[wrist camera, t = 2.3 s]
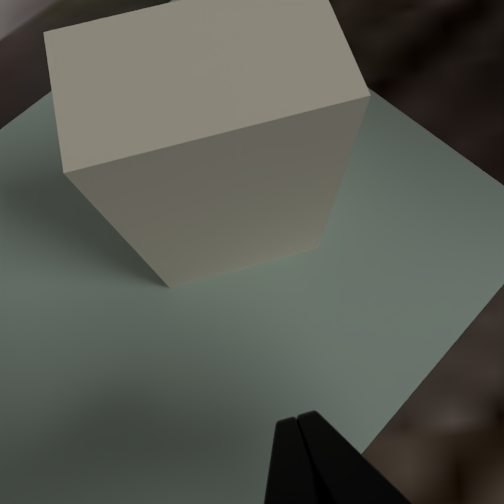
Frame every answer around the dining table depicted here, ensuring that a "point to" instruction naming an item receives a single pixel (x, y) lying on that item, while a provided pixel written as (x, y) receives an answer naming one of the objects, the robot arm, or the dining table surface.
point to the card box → (209, 127)
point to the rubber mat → (225, 323)
